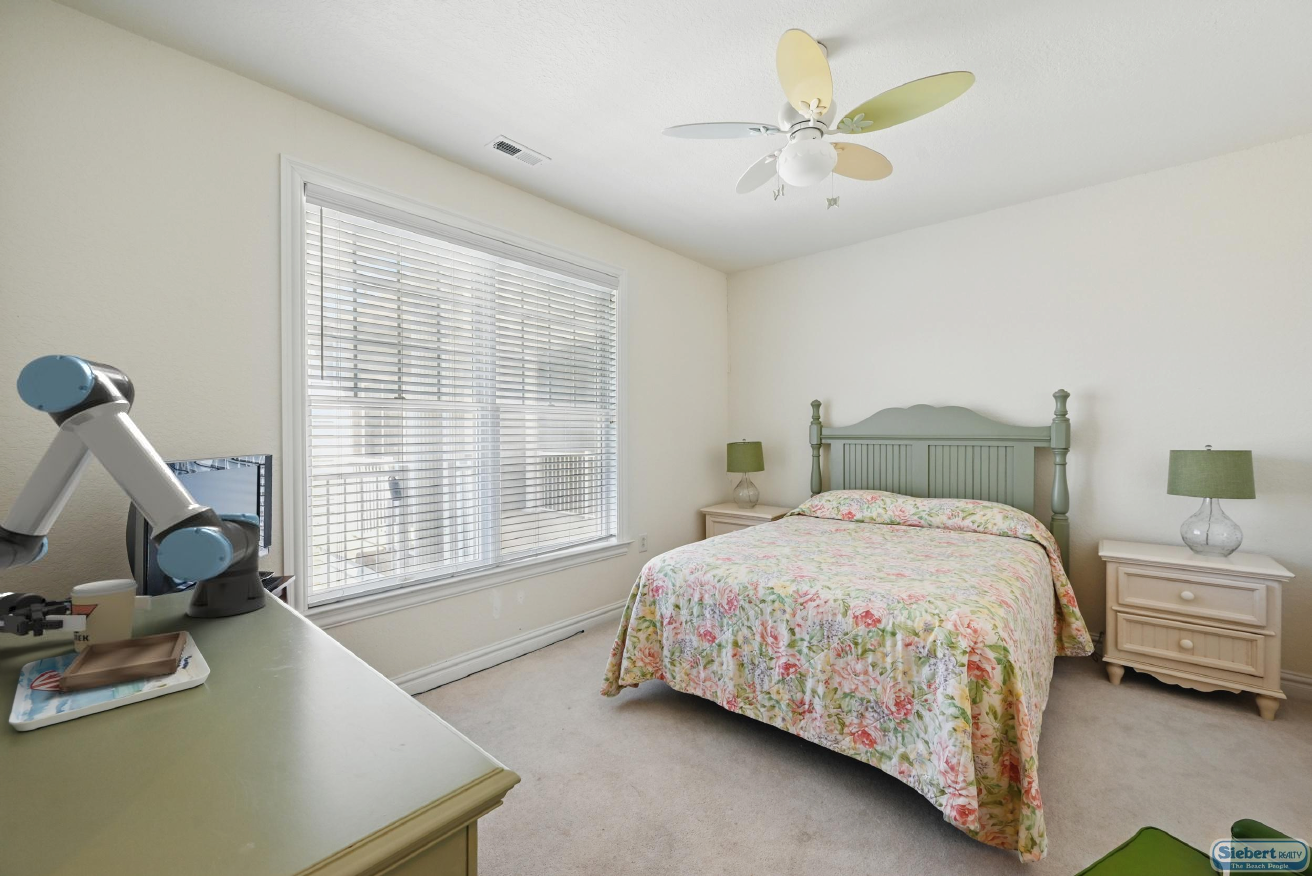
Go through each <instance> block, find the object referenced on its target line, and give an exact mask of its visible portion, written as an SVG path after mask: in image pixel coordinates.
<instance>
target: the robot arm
mask: <svg viewBox="0 0 1312 876" xmlns="http://www.w3.org/2000/svg"><path fill="white" fill-rule="evenodd" d="M16 390H17V394H18V395H19V396H18V397H20V399H21V400H22V401H23V402H24V404H26V405H28V406H29V407H31V408H33V409H35V410H37V411H39V412H43V413H47V414H48V416H49V417H50V418H51V419H52V421H54V423H55V424H56V425H57V426H58V428H59V430H58V432H57V434H56V435H55V437H54V438H53V440H52V441H51V442H50V445H49V446H48V448H47V450H46V451H45V452H44V454H43V456H42V457H41V459H40V460H39V462H38V463H37V465H36V467H35V468H34V470H33V471H32V473H31V475H30V476H29V478H28V479H27V481H26V483H25V484H24V486H23V488H21V490H20V492H19V494H18V495H17V496H16V499H15V500H13V503H12V505H11V506H10V507H9V510H8V511H7V513H6V514H5V516H4V517H3V519H2V520H1V521H0V572H1V571H5V570H9V569H15V568H16V569H17V568H20V567H23V566H26V565H29V564H31V563H34V562H36V561H38V560H39V559H41V558H43V557H44V556H45V555H46V554H47V552H48V550H49V541H48V539H47V537H46V536H47V534H49V531H50V530H51V528H52V527H53V525H54V523H55V522H56V520H57V519H58V517H59V515H60V513H61V512H62V511H63V509H64V507H65V506H66V504H67V502H68V501H69V499H70V497H71V496H72V495H73V493H74V491H75V490H76V488H77V487H78V485H79V483H80V482H81V480H82V478H83V476H85V474H86V472H87V470H88V469H89V467H91V466H90V465H91V464H92V462H93V461H94V459H95V458H96V459H97V460H98V462H99V463H100V464H101V465H102V467H103V468H104V469H105V470H106V471H107V472H108V474H109V475H110V476H111V478H112V479H113V480H114V481H115V482H116V484H117V485H118V487H120V489H121V490H122V491H123V492H124V494H125V495H126V496H127V497H128V499H130V501H131V502H132V503H133V504H134V506H135V507H136V508H137V510H138V511H139V512H140V513H141V514H142V516H143V517H144V518H145V519H146V521H147V522H148V523H149V525H150V526H151V527H152V532H151V534H150V536H149V537H150V540H151V542H152V543H153V544H154V545H155V546H156V548H157V549H158V550H157V555H156V561H157V564H158V566H159V567H160V570H162V572H163V573H164V574H165V575H167V576H169V577H170V578H172V579H175V580H178V581H181V582H187V583H188V582H189V583H190V582H196V584H195V587H194V589H193V591H192V593H191V597H190V599H189V601H188V603H187V612H186V613H187V616H188V617H193V618H199V619H200V618H205V619H206V618H218V617H226V616H236V615H238V614H244V613H249V612H252V611H256V610H258V609H261V608H263V607H265V606H266V605H267V593H266V589H265V587H264V585H263V582H262V580H261V577H260V574H259V566H260V565H259V564H260V563H259V561H260V560H259V558H260V529H261V525H260V517H259V516H258V515H257V514H255V513H217V512H215V510H214V509H213V508H212V506H205V505H201V504H199V503H198V502H197V500H196V499H194V497H193V496H192V495H191V493H190V492H189V491H188V489H187V488H186V487H185V486H184V485H183V483H182V482H181V480H180V479H179V478H178V477H177V476H176V474H175V473H174V472H173V470H172V469H171V468H170V467H169V465H168V464H167V463H166V462H165V460H164V459H163V458H162V456H161V455H160V454H159V453H158V451H157V450H156V449H155V448H154V446H153V445H152V444H151V443H150V441H149V440H148V439H147V437H146V436H145V435H144V434H143V432H142V431H141V430H140V429H139V427H138V426H137V425H136V424H135V423H134V421H133V420H132V419H131V417H130V416H129V413H130V411H131V410H132V407H133V404H134V401H135V395H136V391H135V386H134V384H133V382H132V380H131V379H130V377H129V375H127V374H126V373H125V372H123V371H122V370H121V369H119V368H118V367H115V366H113V365H109V364H105V363H101V362H97V361H93V360H92V361H91V360H89V359H85V358H81V357H79V356H75V355H69V354H68V355H65V354H63V355H62V354H48V355H43V356H41V357H38V358H36V359H33V360H32V361H29V362H28V363H27V364H26V365H24V367H23V368H22V369H21V371H20V373H19V375H18V378H17V379H16ZM151 609H152V595H136V597H135V606H134V611H148V610H149V611H150V610H151ZM67 612H70V613H67ZM84 630H86V615H72V596H71V597H70V596H69V597H66V598H65V599H62V600H58V599H50V600H47V599H46V598H45V597H44V596H43V595H41V594H38V593H35V592H0V633H1V634H11V635H12V634H13V635H16V636H18V637H19V636H20V637H23V636H27V635H29V633H30V632H32V633H33V634H32V636H33V637H34V638H36V637H42V636H44V631H45V632H74V631H84Z"/></svg>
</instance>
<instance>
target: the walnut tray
mask: <svg viewBox="0 0 1312 876" xmlns="http://www.w3.org/2000/svg"><path fill="white" fill-rule="evenodd" d="M185 642H186V643H187V630H181V631H175V632H167V633H161V634H154V635H149V636H148V635H147V636H139V637H134V638H132V637H131V639H125V640H119V641H112V642H105V643H98V644H91V645H86V647H85V648H84V649H83V650H82V651H81V652H79V654H78V655H77V656H76V657H75V658H74V660H73V661H72V662H71V663H70V665H69V666H68V667H67V668H66V669H65V670H64V671H63V673H62V674H61V675H60V676H59V679H58V693H59V692H65V693H71V692H76V691H81V690H82V691H83V690H87V689H88V690H89V689H93V688H97V687H98V688H99V687H104V686H108V685H114V684H120V683H126V682H132V681H137V680H143V679H149V678H154V677H153V676H155V677H157V676H156V675H160V676H163V675H162V674H166V675H168V674H167V673H171V674H176V673H177V671H178V667H179V665H180V662H181V659H182V656H183V653H184V650H185V647H184V645H185ZM185 646H186V645H185ZM183 649H184V650H183ZM182 652H183V653H182ZM181 655H182V656H181ZM180 658H181V659H180ZM179 661H180V662H179ZM178 664H179V665H178ZM175 672H176V673H175ZM148 677H149V678H148ZM70 691H71V692H70Z"/></svg>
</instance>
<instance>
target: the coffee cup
mask: <svg viewBox="0 0 1312 876" xmlns="http://www.w3.org/2000/svg"><path fill="white" fill-rule="evenodd" d="M137 588H138V583H137V582H136V580H135V579H129V578H125V579H124V578H122V579H121V578H120V579H119V578H118V579H107V580H99V581H93V582H88V583H84V584H79V585H76V586H73V587H72V590H71V591H70V593H69V594H70V596H71V597H72V615H86V630H84V631H73V638H74V641H73V642H74V649H75V652H77V653H81V651H82V650H83V649H84V648H85V647H86V645H91V644H98V643H105V642H112V641H119V640H125V639H132V629H133V623H134V622H133V621H134V613H135V610H134V606H135V597H136V596H137V595H136V594H137Z"/></svg>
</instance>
